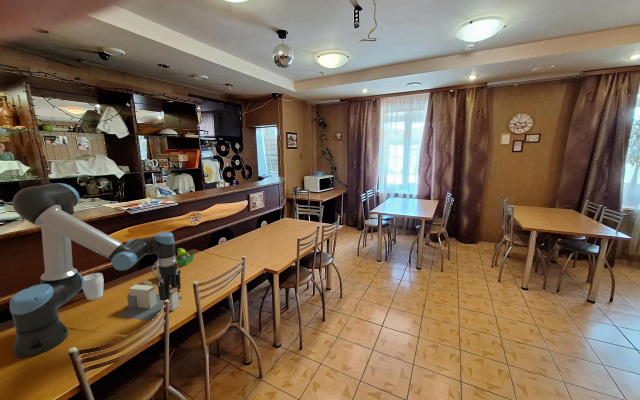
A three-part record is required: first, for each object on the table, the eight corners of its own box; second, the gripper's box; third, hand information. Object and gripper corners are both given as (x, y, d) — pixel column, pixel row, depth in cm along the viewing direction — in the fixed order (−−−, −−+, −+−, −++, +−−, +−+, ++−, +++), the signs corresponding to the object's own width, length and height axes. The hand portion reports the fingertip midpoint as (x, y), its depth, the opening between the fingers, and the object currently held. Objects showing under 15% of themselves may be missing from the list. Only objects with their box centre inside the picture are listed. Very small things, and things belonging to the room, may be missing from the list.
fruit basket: (186, 266, 173) (185, 251, 171) (174, 266, 174) (172, 250, 171) (195, 259, 185) (193, 245, 182) (183, 259, 185) (181, 244, 183)
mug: (179, 271, 165) (177, 257, 164) (175, 279, 155) (174, 264, 154) (155, 274, 161) (154, 260, 159) (150, 282, 151) (148, 267, 149)
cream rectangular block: (149, 310, 124) (146, 291, 122) (128, 307, 126) (125, 289, 124) (159, 302, 131) (156, 284, 129) (139, 300, 132) (137, 282, 130)
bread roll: (153, 299, 141) (159, 285, 142) (132, 298, 134) (138, 284, 135) (148, 292, 148) (154, 279, 149) (128, 291, 140) (134, 277, 141)
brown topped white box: (173, 310, 124) (171, 292, 122) (162, 309, 124) (160, 291, 123) (179, 305, 127) (177, 287, 126) (168, 304, 128) (166, 286, 127)
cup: (92, 302, 131) (89, 281, 129) (79, 300, 133) (75, 279, 130) (110, 293, 140) (107, 273, 137) (97, 291, 141) (93, 271, 139)
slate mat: (154, 322, 116) (154, 320, 116) (117, 317, 119) (117, 316, 119) (183, 297, 136) (183, 296, 136) (151, 294, 139) (150, 293, 139)
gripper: (161, 272, 113) (166, 318, 117) (186, 257, 129) (190, 298, 134) (146, 271, 114) (152, 317, 118) (173, 256, 130) (177, 297, 135)
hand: (172, 307), depth 126 cm, fingers closed on brown topped white box, 4 cm apart
